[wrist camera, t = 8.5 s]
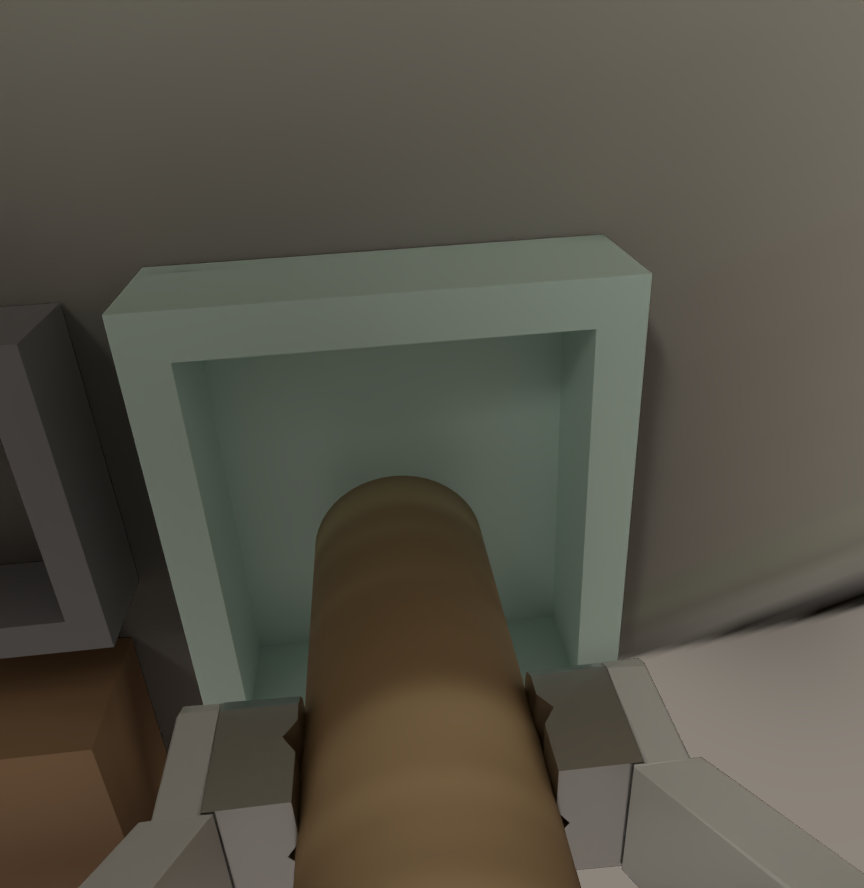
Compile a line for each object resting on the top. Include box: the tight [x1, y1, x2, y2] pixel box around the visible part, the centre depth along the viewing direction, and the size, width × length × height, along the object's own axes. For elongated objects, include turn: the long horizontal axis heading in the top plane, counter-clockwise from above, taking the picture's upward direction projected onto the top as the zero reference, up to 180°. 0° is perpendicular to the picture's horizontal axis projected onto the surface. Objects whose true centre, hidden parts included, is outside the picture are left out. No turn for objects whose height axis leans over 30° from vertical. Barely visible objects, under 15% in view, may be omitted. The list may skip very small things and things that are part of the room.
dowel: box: [293, 476, 581, 888], centre depth 10 cm, size 3×3×10 cm
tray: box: [102, 234, 652, 706], centre depth 14 cm, size 9×8×2 cm
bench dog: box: [0, 637, 167, 888], centre depth 17 cm, size 6×3×3 cm, turn 3°
